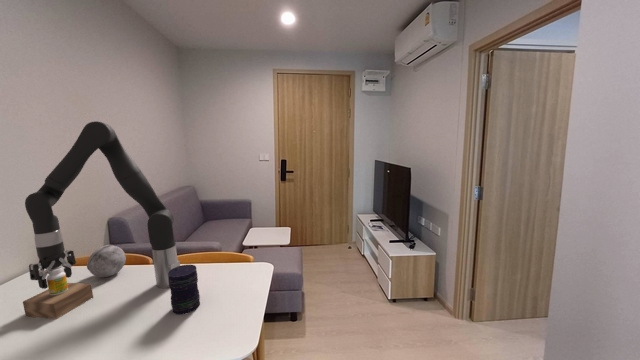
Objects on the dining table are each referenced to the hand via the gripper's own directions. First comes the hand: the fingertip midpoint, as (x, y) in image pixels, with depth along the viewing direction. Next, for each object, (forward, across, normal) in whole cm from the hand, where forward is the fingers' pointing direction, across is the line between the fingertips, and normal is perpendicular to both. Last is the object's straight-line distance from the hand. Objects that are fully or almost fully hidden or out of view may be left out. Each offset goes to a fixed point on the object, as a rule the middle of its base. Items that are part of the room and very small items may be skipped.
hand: (56, 282), depth 108 cm
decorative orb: (+10, +25, +4) cm, 27 cm away
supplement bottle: (+4, 0, 0) cm, 4 cm away
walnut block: (+10, 0, 0) cm, 10 cm away
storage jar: (+10, +5, -51) cm, 52 cm away
